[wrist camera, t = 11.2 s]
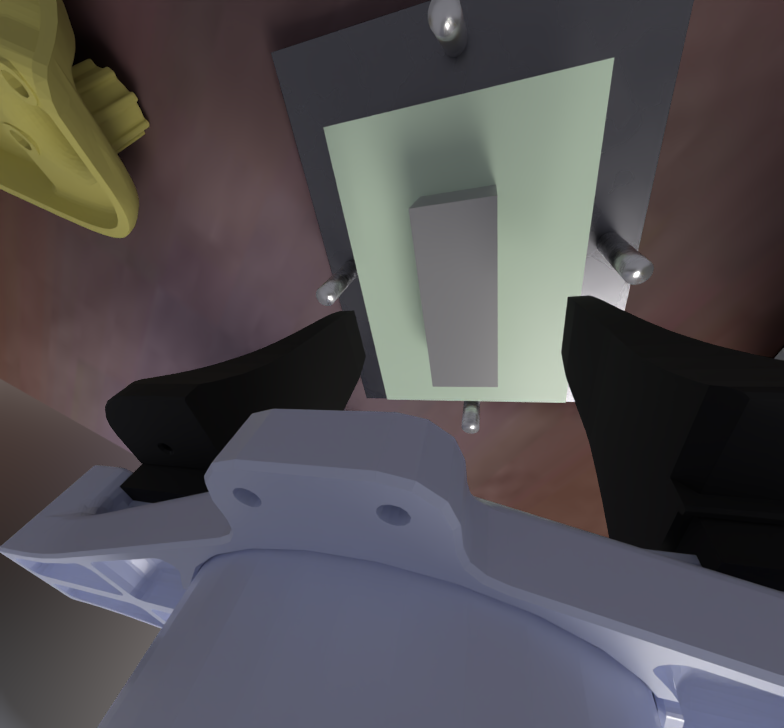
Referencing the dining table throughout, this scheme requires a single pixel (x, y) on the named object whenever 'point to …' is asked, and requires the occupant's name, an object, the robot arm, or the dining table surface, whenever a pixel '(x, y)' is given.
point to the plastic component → (63, 122)
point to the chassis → (479, 71)
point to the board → (531, 214)
